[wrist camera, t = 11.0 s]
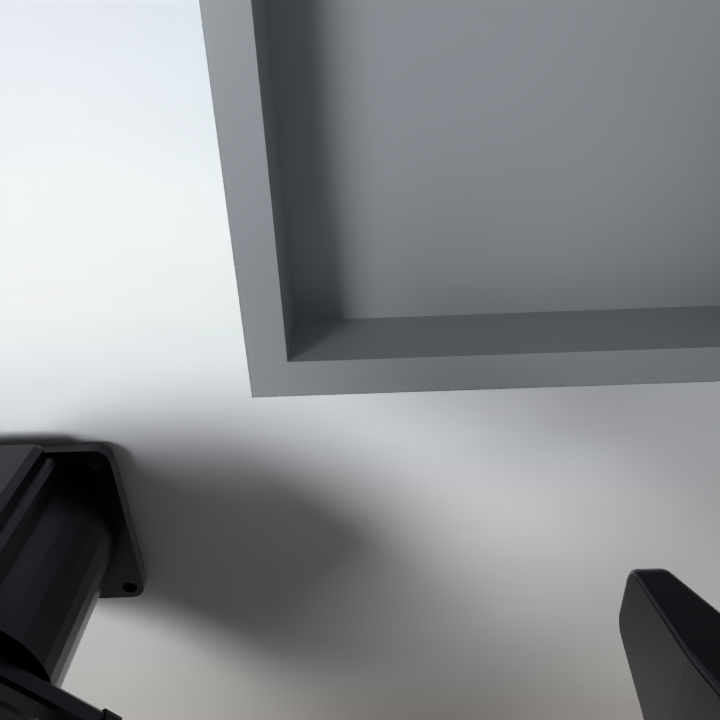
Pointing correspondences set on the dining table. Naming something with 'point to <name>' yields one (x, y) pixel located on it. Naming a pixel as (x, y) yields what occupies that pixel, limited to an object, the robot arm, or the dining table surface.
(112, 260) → the dining table surface
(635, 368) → the parts bin
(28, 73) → the dining table surface
